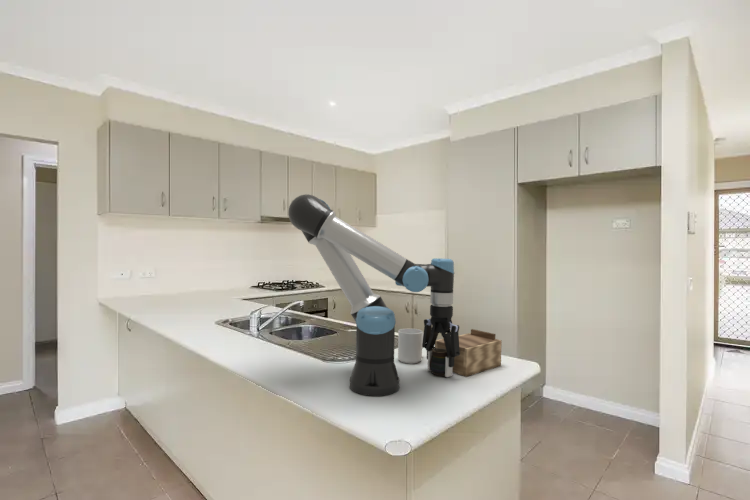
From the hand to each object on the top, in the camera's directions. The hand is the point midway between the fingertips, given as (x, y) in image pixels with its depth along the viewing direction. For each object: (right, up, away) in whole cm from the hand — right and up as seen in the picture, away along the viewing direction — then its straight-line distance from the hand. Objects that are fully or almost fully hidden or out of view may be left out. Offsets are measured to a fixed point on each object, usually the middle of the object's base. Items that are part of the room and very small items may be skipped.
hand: (439, 372), depth 133 cm
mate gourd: (0, 0, 0) cm, 1 cm away
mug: (-8, 0, +16) cm, 18 cm away
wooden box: (+12, 0, +10) cm, 15 cm away
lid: (+12, +8, +9) cm, 17 cm away
